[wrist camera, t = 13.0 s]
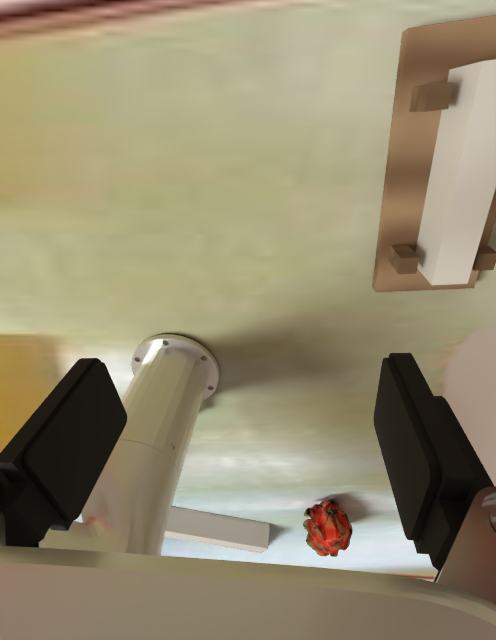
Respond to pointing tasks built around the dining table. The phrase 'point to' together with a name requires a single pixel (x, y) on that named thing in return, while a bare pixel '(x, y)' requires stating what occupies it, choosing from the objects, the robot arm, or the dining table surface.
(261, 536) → the white wedge ramp
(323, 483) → the dining table surface
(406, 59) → the plank with four pegs
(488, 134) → the clay strip
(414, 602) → the robot arm
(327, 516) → the dragon fruit
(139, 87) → the dining table surface
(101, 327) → the dining table surface
